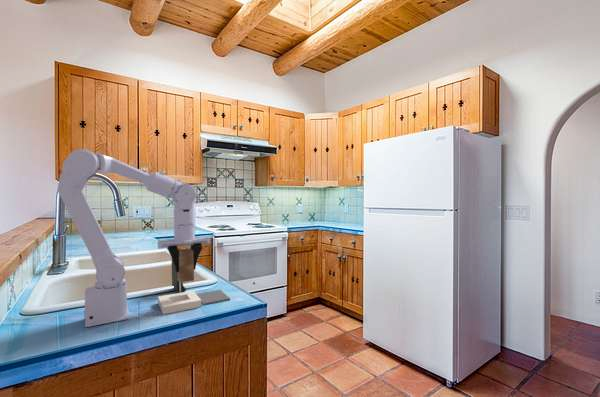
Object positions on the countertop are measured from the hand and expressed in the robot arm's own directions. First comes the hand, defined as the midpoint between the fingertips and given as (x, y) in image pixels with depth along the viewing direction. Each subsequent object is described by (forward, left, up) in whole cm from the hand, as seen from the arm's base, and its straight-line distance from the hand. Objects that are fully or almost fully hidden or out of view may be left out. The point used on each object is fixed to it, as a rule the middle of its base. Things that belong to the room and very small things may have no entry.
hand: (185, 270), depth 91 cm
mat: (+8, +1, -10) cm, 13 cm away
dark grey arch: (+1, +15, -10) cm, 18 cm away
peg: (0, 0, -3) cm, 3 cm away
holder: (-2, 0, -10) cm, 10 cm away
